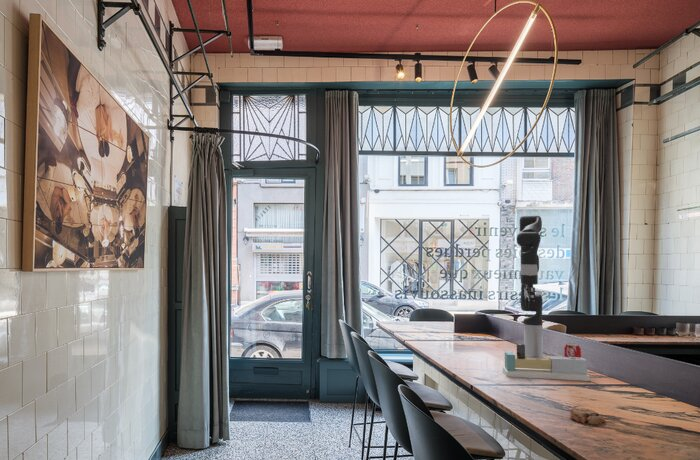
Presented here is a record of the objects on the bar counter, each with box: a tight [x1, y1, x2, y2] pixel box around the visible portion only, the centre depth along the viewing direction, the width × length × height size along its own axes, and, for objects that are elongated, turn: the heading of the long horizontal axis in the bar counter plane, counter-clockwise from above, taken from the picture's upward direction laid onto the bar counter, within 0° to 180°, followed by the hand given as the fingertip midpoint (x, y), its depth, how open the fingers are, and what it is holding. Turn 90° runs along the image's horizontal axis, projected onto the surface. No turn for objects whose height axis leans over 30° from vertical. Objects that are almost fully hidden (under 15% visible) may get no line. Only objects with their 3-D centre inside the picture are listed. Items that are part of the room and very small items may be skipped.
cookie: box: [569, 407, 606, 426], centre depth 149 cm, size 10×11×3 cm
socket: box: [504, 350, 516, 371], centre depth 210 cm, size 8×3×7 cm, turn 170°
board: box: [502, 365, 591, 382], centre depth 207 cm, size 12×34×2 cm, turn 80°
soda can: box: [563, 342, 582, 358], centre depth 219 cm, size 7×7×12 cm
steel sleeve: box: [548, 355, 588, 374], centre depth 206 cm, size 6×14×6 cm, turn 80°
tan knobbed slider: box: [515, 343, 552, 370], centre depth 209 cm, size 4×20×10 cm, turn 80°
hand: (529, 308), depth 222 cm, fingers open, 8 cm apart
